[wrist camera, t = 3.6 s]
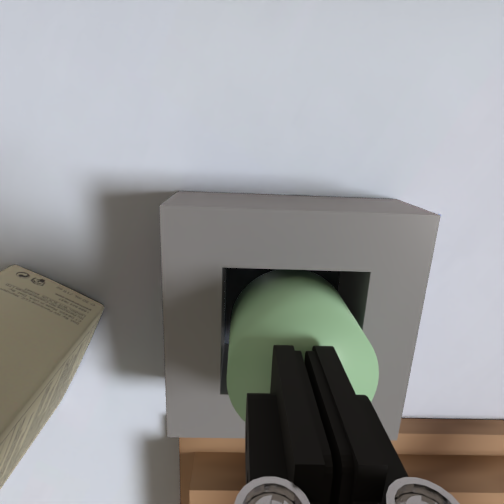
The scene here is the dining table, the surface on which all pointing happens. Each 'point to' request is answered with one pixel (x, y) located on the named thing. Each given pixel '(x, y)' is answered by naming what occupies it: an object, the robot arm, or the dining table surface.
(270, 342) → the button
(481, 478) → the open wooden box
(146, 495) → the dining table surface
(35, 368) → the skincare box
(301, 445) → the robot arm
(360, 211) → the grey square holder
